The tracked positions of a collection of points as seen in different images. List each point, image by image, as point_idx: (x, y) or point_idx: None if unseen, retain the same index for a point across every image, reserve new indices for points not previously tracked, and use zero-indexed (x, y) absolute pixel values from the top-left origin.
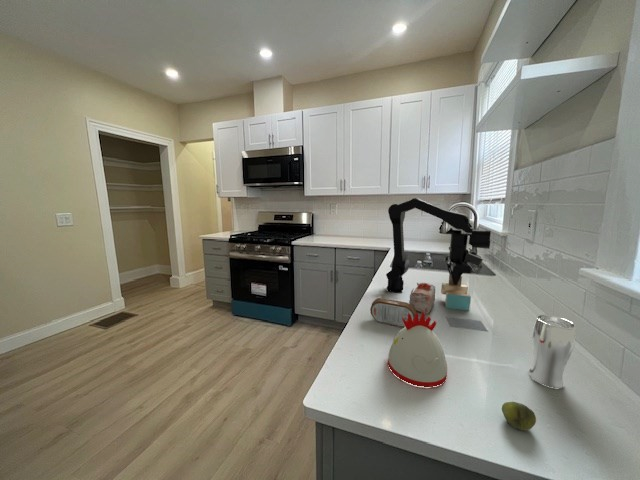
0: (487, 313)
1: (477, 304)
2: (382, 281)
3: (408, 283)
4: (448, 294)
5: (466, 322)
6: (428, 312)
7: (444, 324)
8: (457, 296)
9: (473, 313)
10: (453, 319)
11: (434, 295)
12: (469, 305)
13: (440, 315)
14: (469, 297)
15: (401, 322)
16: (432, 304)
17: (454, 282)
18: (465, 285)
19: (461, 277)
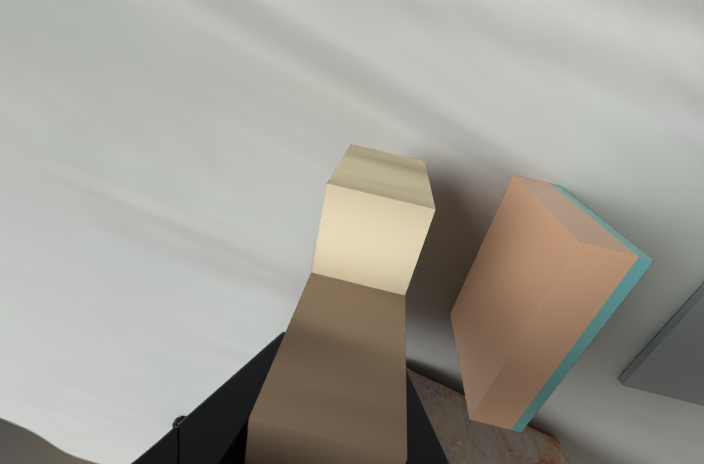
0: (648, 18)
1: (413, 4)
2: (106, 452)
3: (72, 357)
4: (525, 424)
5: None
6: (561, 449)
7: (695, 416)
8: (562, 358)
9: (607, 169)
10: (675, 364)
11: (459, 454)
12: (587, 210)
13: (577, 388)
14: (634, 262)
15: None
16: (526, 448)
17: None
18: (349, 205)
19: (402, 446)
